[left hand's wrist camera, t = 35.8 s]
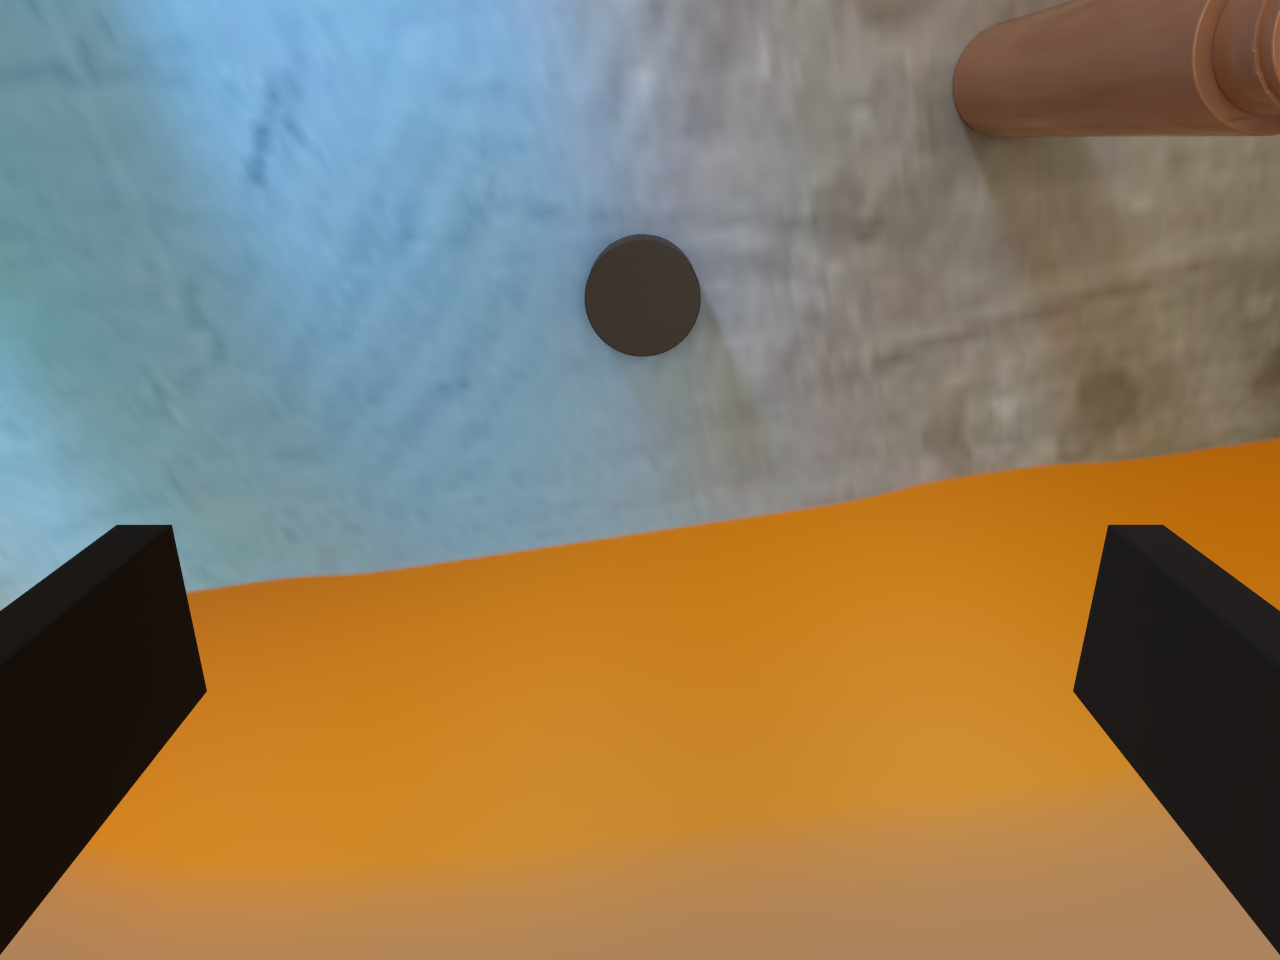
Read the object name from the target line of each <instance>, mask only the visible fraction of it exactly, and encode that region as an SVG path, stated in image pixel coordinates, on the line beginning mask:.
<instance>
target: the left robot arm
mask: <svg viewBox="0 0 1280 960" xmlns="http://www.w3.org/2000/svg"><path fill="white" fill-rule="evenodd" d="M206 692H207V690H206V685H205V680H204V675H203V671H202V666H201V661H200V656H199V652H198V647H197V642H196V638H195V633H194V628H193V624H192V619H191V614H190V609H189V605H188V600H187V595H186V590H185V586H184V581H183V576H182V571H181V567H180V562H179V557H178V552H177V548H176V543H175V538H174V534H173V529H172V525H116V526H115V527H114V528H112V529H111V530H109V531H108V532H107V533H105V534H104V535H103V536H101V537H100V538H99V539H97V540H96V541H95V542H93V543H92V544H91V545H89V546H88V547H86V548H85V549H84V550H82V551H81V552H80V553H78V554H77V555H76V556H74V557H73V558H72V559H70V560H69V561H67V562H66V563H65V564H63V565H62V566H61V567H59V568H58V569H57V570H55V571H54V572H53V573H51V574H50V575H49V576H47V577H46V578H44V579H43V580H42V581H40V582H39V583H38V584H36V585H35V586H34V587H32V588H31V589H30V590H28V591H27V592H26V593H24V594H23V595H21V596H20V597H19V598H17V599H16V600H15V601H13V602H12V603H11V604H9V605H8V606H7V607H5V608H4V609H2V610H1V611H0V954H1V953H2V952H3V950H4V949H5V948H6V947H7V945H8V944H9V943H10V942H11V940H12V939H13V938H14V936H15V935H16V934H17V933H18V931H19V930H20V929H21V928H22V926H23V925H24V924H25V922H26V921H27V920H28V919H29V917H30V916H31V915H32V914H33V912H34V911H35V910H36V908H37V907H38V906H39V905H40V903H41V902H42V901H43V899H44V898H45V897H46V896H47V894H48V893H49V892H50V891H51V889H52V888H53V887H54V885H55V884H56V883H57V882H58V880H59V879H60V878H61V877H62V875H63V874H64V873H65V871H66V870H67V869H68V868H69V866H70V865H71V864H72V862H73V861H74V860H75V859H76V857H77V856H78V855H79V854H80V852H81V851H82V850H83V848H84V847H85V846H86V845H87V843H88V842H89V841H90V840H91V838H92V837H93V836H94V834H95V833H96V832H97V831H98V829H99V828H100V827H101V825H102V824H103V823H104V822H105V820H106V819H107V818H108V817H109V815H110V814H111V813H112V811H113V810H114V809H115V808H116V806H117V805H118V804H119V803H120V801H121V800H122V799H123V797H124V796H125V795H126V794H127V792H128V791H129V790H130V788H131V787H132V786H133V785H134V783H135V782H136V781H137V780H138V778H139V777H140V776H141V774H142V773H143V772H144V771H145V769H146V768H147V767H148V765H149V764H150V763H151V762H152V760H153V759H154V758H155V757H156V755H157V754H158V753H159V752H160V750H161V749H162V748H163V746H164V745H165V744H166V743H167V741H168V740H169V739H170V738H171V736H172V735H173V734H174V732H175V731H176V730H177V728H178V727H179V726H180V725H181V723H182V722H183V721H184V720H185V718H186V717H187V716H188V715H189V713H190V712H191V711H192V709H193V708H194V707H195V706H196V704H197V703H198V702H199V701H200V699H201V698H202V697H203V695H204V694H205V693H206ZM1073 692H1074V693H1075V694H1076V695H1077V697H1078V698H1079V699H1080V700H1081V702H1082V703H1083V704H1084V706H1085V707H1086V708H1087V709H1088V711H1089V712H1090V713H1091V715H1092V716H1093V717H1094V718H1095V720H1096V721H1097V722H1098V723H1099V725H1100V726H1101V727H1102V729H1103V730H1104V731H1105V732H1106V734H1107V735H1108V736H1109V738H1110V739H1111V740H1112V741H1113V743H1114V744H1115V745H1116V746H1117V748H1118V749H1119V750H1120V752H1121V753H1122V754H1123V755H1124V757H1125V758H1126V759H1127V760H1128V762H1129V763H1130V764H1131V766H1132V767H1133V768H1134V769H1135V771H1136V772H1137V773H1138V774H1139V776H1140V777H1141V778H1142V780H1143V781H1144V782H1145V783H1146V785H1147V786H1148V787H1149V789H1150V790H1151V791H1152V792H1153V794H1154V795H1155V796H1156V797H1157V799H1158V800H1159V801H1160V803H1161V804H1162V805H1163V806H1164V808H1165V809H1166V810H1167V811H1168V813H1169V814H1170V815H1171V817H1172V818H1173V819H1174V820H1175V822H1176V823H1177V824H1178V825H1179V827H1180V828H1181V829H1182V831H1183V832H1184V833H1185V834H1186V836H1187V837H1188V838H1189V840H1190V841H1191V842H1192V843H1193V845H1194V846H1195V847H1196V848H1197V850H1198V851H1199V852H1200V854H1201V855H1202V856H1203V857H1204V859H1205V860H1206V861H1207V862H1208V864H1209V865H1210V866H1211V868H1212V869H1213V870H1214V871H1215V873H1216V874H1217V875H1218V877H1219V878H1220V879H1221V880H1222V882H1223V883H1224V884H1225V885H1226V887H1227V888H1228V889H1229V891H1230V892H1231V893H1232V894H1233V896H1234V897H1235V898H1236V899H1237V901H1238V902H1239V903H1240V905H1241V906H1242V907H1243V908H1244V910H1245V911H1246V912H1247V914H1248V915H1249V916H1250V917H1251V919H1252V920H1253V921H1254V922H1255V924H1256V925H1257V926H1258V927H1259V929H1260V930H1261V931H1262V933H1263V934H1264V935H1265V936H1266V938H1267V939H1268V940H1269V941H1270V943H1271V944H1272V945H1273V947H1274V948H1275V949H1276V950H1277V952H1278V953H1279V954H1280V611H1279V610H1277V609H1276V608H1275V607H1273V606H1272V605H1271V604H1269V603H1268V602H1267V601H1265V600H1264V599H1263V598H1261V597H1260V596H1258V595H1257V594H1256V593H1254V592H1253V591H1252V590H1250V589H1249V588H1248V587H1246V586H1245V585H1244V584H1242V583H1241V582H1240V581H1238V580H1237V579H1236V578H1234V577H1233V576H1231V575H1230V574H1229V573H1227V572H1226V571H1225V570H1223V569H1222V568H1221V567H1219V566H1218V565H1217V564H1215V563H1214V562H1213V561H1211V560H1210V559H1208V558H1207V557H1206V556H1204V555H1203V554H1202V553H1200V552H1199V551H1198V550H1196V549H1195V548H1193V547H1192V546H1191V545H1189V544H1188V543H1187V542H1185V541H1184V540H1183V539H1181V538H1180V537H1179V536H1177V535H1176V534H1175V533H1173V532H1172V531H1171V530H1169V529H1168V528H1166V527H1165V526H1164V525H1108V529H1107V534H1106V538H1105V543H1104V548H1103V553H1102V557H1101V562H1100V567H1099V571H1098V576H1097V581H1096V586H1095V590H1094V595H1093V600H1092V604H1091V609H1090V614H1089V619H1088V623H1087V628H1086V633H1085V638H1084V642H1083V647H1082V652H1081V656H1080V661H1079V666H1078V671H1077V675H1076V680H1075V685H1074V690H1073Z"/></svg>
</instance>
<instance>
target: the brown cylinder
mask: <svg viewBox="0 0 1280 960" xmlns="http://www.w3.org/2000/svg"><path fill="white" fill-rule="evenodd" d="M953 96H954V101H955V104H956V108H957V110H958V112H959V114H960V116H961V117H962V119H963V120H964V121H965V123H966V124H967V125H968V126H970V127H971V128H972V129H973V130H975V131H977V132H978V133H981V134H983V135H986V136H991V137H1156V136H1270V135H1278V134H1280V0H1071V1H1068V2H1065V3H1062V4H1059V5H1055V6H1052V7H1049V8H1046V9H1043V10H1040V11H1037V12H1034V13H1031V14H1027V15H1024V16H1021V17H1018V18H1015V19H1012V20H1009V21H1006V22H1002V23H999V24H997V25H994V26H992V27H990V28H988V29H986V30H985V31H983V32H982V33H980V34H979V35H978V36H977V37H976V38H974V39H973V40H972V42H971V43H970V44H969V45H968V46H967V48H966V49H965V50H964V52H963V54H962V56H961V57H960V59H959V62H958V64H957V67H956V70H955V74H954V80H953Z"/></svg>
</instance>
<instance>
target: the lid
mask: <svg viewBox="0 0 1280 960" xmlns="http://www.w3.org/2000/svg"><path fill="white" fill-rule="evenodd" d="M585 307H586V313H587V316H588V319H589V321H590V323H591V325H592V327H593V329H594V330H595V332H596V333H597V335H598V336H599V337H600V338H601V339H602V340H603V341H604V342H605V343H606V344H608V345H609V346H610V347H612V348H613V349H615V350H617V351H619V352H622V353H625V354H628V355H632V356H652V355H657V354H660V353H663V352H666V351H668V350H670V349H672V348H673V347H675V346H676V345H678V344H679V343H680V342H681V341H682V340H683V339H684V338H685V337H686V336H687V335H688V333H689V332H690V331H691V329H692V327H693V326H694V324H695V322H696V319H697V317H698V313H699V309H700V287H699V283H698V280H697V277H696V274H695V272H694V270H693V267H692V265H691V263H690V261H689V260H688V258H687V257H686V255H685V254H684V253H683V252H682V251H681V250H680V249H679V248H678V247H677V246H675V245H674V244H673V243H671V242H669V241H668V240H666V239H663V238H661V237H658V236H654V235H646V234H639V235H631V236H627V237H624V238H622V239H620V240H617V241H615V242H614V243H612V244H611V245H609V246H608V247H607V248H606V249H605V250H604V251H603V252H602V253H601V254H600V255H599V257H598V258H597V260H596V261H595V263H594V265H593V267H592V269H591V272H590V275H589V278H588V281H587V284H586V289H585Z"/></svg>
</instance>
